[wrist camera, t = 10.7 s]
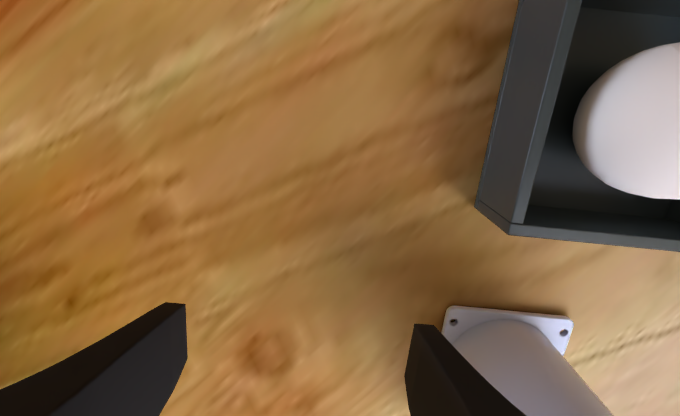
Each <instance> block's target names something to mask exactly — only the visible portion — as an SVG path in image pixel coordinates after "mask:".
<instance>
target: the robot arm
mask: <svg viewBox="0 0 680 416" xmlns="http://www.w3.org/2000/svg"><path fill="white" fill-rule="evenodd" d="M452 319H456V320H455V321H454V322H450V321H451V320H452ZM573 326H574V323H573V321H572V320H571V319H570V318H569V317H567V316H560V315H550V314H539V313H529V312H518V311H508V310H497V309H487V308H476V307H466V306H451V307H449V308H448V309H447V310H446V314H445V319H444V323H443V328H442V333H441V332H440V331H439V330H438V329H437V328H436V327H435V326H434V325H427V324H415V323H414V328H413V334H412V339H411V344H410V350H409V355H408V360H407V365H406V371H405V384H406V391H407V398H408V405H409V410H410V415H411V416H614V415H613V414H612V413H611V412H610V411H609V410H608V408H607V407H606V406H605V405H604V404H603V403H602V401H601V400H600V399H599V398H598V397H597V395H596V394H595V393H594V392H593V391H592V390H591V388H590V387H589V386H588V385H587V384H586V383H585V381H584V380H583V379H582V378H581V377H580V376H579V374H578V373H577V372H576V371H575V370H574V369H573V367H572V366H571V365H570V364H569V363H568V362H567V360H566V359H565V358H564V357H563V356H564V353H565V350H566V347H567V344H568V341H569V338H570V335H571V332H572V329H573ZM563 329H564V330H563ZM561 330H563V331H562V332H560V331H561ZM186 361H187V333H186V308H185V304H179V303H167V302H165V303H163V304H162V305H160V306H158V307H156V308H154V309H153V310H151V311H149V312H147V313H146V314H144V315H142V316H141V317H139V318H137V319H136V320H134V321H132V322H131V323H129V324H127V325H126V326H124V327H122V328H120V329H119V330H117V331H115V332H114V333H112V334H110V335H109V336H107V337H105V338H103V339H102V340H100V341H98V342H96V343H94V344H92V345H91V346H89V347H87V348H85V349H83V350H81V351H80V352H78V353H76V354H74V355H72V356H70V357H68V358H67V359H65V360H63V361H61V362H59V363H57V364H55V365H53V366H51V367H49V368H47V369H45V370H43V371H41V372H38V373H36V374H34V375H32V376H30V377H28V378H25V379H23V380H21V381H19V382H17V383H14V384H12V385H10V386H8V387H5V388H3V389H0V416H159V415H160V413H161V411H162V409H163V408H164V406H165V404H166V403H167V401H168V399H169V397H170V396H171V394H172V392H173V390H174V388H175V386H176V384H177V382H178V379H179V377H180V375H181V373H182V370H183V368H184V365H185V363H186Z"/></svg>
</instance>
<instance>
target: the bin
mask: <svg viewBox="0 0 680 416" xmlns="http://www.w3.org/2000/svg"><path fill="white" fill-rule="evenodd" d="M679 42H680V0H519V4H518V8H517V13H516V17H515V22H514V27H513V31H512V36H511V40H510V45H509V49H508V54H507V59H506V63H505V68H504V72H503V77H502V81H501V86H500V91H499V95H498V100H497V104H496V109H495V113H494V118H493V123H492V127H491V132H490V136H489V141H488V145H487V150H486V155H485V159H484V164H483V168H482V173H481V177H480V182H479V187H478V191H477V196H476V200H475V205H474V208H476V209H477V210H478V211H479V212H481V213H482V214H483V215H484V216H486V217H487V218H488V219H489V220H490V221H492V222H493V223H494V224H495V225H497V226H498V227H499V228H500V229H501V230H503V231H504V232H505V233H506V234H508V235H514V236H524V237H534V238H544V239H554V240H564V241H575V242H585V243H595V244H605V245H615V246H626V247H636V248H646V249H656V250H666V251H677V252H680V199H655V198H649V197H644V196H639V195H635V194H630V193H627V192H624V191H621V190H618V189H616V188H613V187H611V186H609V185H607V184H605V183H604V182H603V181H601V180H600V179H598V178H597V177H596V176H594V175H593V174H592V173H591V172H590V171H589V170H588V169H587V168H586V167H585V166H584V165H583V163H582V161H581V160H580V158H579V156H578V154H577V152H576V149H575V146H574V143H573V135H572V133H573V122H574V117H575V114H576V111H577V109H578V106H579V103H580V101H581V99H582V97H583V96H584V95H585V93H586V92H587V90H588V89H589V87H590V86H591V85H592V84H593V83H594V82H595V81H596V80H597V79H598V78H599V77H600V76H602V75H603V74H604V73H605V72H606V71H607V70H608V69H610V68H611V67H613V66H614V65H616V64H617V63H619V62H620V61H622V60H624V59H626V58H628V57H630V56H632V55H635V54H637V53H639V52H641V51H643V50H647V49H650V48H654V47H657V46H661V45H666V44H672V43H679Z"/></svg>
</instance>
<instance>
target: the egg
mask: <svg viewBox="0 0 680 416" xmlns="http://www.w3.org/2000/svg"><path fill="white" fill-rule="evenodd" d="M572 135H573V143H574V146H575V149H576V152H577V154H578V156H579V158H580V160H581V161H582V163H583V165H584V166H585V167H586V168H587V169H588V170H589V171H590V172H591V173H592V174H593V175H594V176H596V177H597V178H598V179H600V180H601V181H603V182H604V183H605V184H607V185H609V186H611V187H613V188H616V189H618V190H621V191H624V192H627V193H630V194H635V195H639V196H644V197H649V198H655V199H680V42H679V43H672V44H666V45H661V46H657V47H654V48H650V49H647V50H643V51H641V52H639V53H637V54H635V55H632V56H630V57H628V58H626V59H624V60H622V61H620V62H619V63H617V64H616V65H614V66H613V67H611V68H610V69H608V70H607V71H606V72H605V73H604V74H603V75H602V76H600V77H599V78H598V79H597V80H596V81H595V82H594V83H593V84H592V85H591V86H590V87H589V89H588V90H587V92H586V93H585V95H584V96H583V97H582V99H581V101H580V103H579V106H578V109H577V111H576V114H575V117H574V122H573V133H572Z"/></svg>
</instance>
